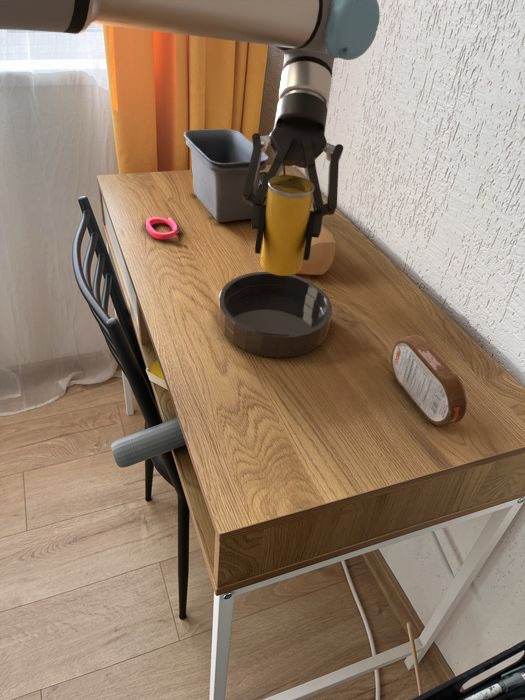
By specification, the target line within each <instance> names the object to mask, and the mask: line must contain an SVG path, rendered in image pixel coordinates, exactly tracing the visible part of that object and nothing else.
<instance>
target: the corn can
mask: <svg viewBox="0 0 525 700" xmlns="http://www.w3.org/2000/svg"><path fill="white" fill-rule="evenodd" d="M314 188H315V187H314V184H313V183H312V182H311V181H309V180H307V178H305V177H302V176H297V175H291V174H279V176H275V177H272V178H271V179H270V180H269V181H268V194H267V199H266V204H265V205H266V213H265V223H264V232H263V239H262V246H261V253H260V266H261V268H262V269H263V270H264V272H269V273H271V274H275V275H280V276H289V275H294V276H295V275H296V273H298V272H299V271H300V270H301V267H302V261H303V254H304V248H305V242H306V235H307V229H308V223H309V217H310V211H312V210H311V209H312V198H313V192H314Z"/></svg>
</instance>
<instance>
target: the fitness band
mask: <svg viewBox="0 0 525 700" xmlns="http://www.w3.org/2000/svg"><path fill="white" fill-rule="evenodd" d="M159 223H161V224H166V225H167V226H169V227H170V228H171V229H172V230H171V231H169V232H163V233H162V232H159V231H156V230H155V229H154V228H153V227H152V225H154V224H159ZM145 227H146V230H147V231H148V233H149V234H150V236H151V237H153V238H155V239H157V240H168V239H171V238H173V237H174V236H176V234H179V229H178V224H176V222H175V221H174V220H173V218H171V217H169V218H168V219H166V218H163V217H150V218H148V219H147V220H146V222H145Z"/></svg>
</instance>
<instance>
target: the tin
mask: <svg viewBox="0 0 525 700" xmlns="http://www.w3.org/2000/svg"><path fill="white" fill-rule="evenodd" d="M390 363H391V369H392V372H393V375H394V377H395V379H396V381H397V383H398V385H400V386H401V388H402V389H403V391H404V392H405V393H406V394H407V396H408V397H409V398H410V399H411V401H412V402H413V403H414V405H415V406H416V407H417V408H418V409H419V411H420V412H421V414H422V415H423V416H424V417H425V418H426V419H427V420H428V422H429V423H431V424H433V425H434V426H439V427H441V426H448V425H450V424H456V423H459V422H461V421H462V420H463V419H464V417H465V416H466V414H467V413H466V412H467V408H468V405H467V404H468V399H467V393H466V391H465V387H464V384H463V383H462V381H461V379H460V377H459V376H458V374H457V373H456V372H455V371H454V370H453V369H452V368H451V366H449V365H448V363H447V362H446V361H445V360H444V359H443V357H441V356H440V355H439V353H438V352H437V351H436V350H435V349H434V348H433V347H432V345H431V344H430V343H429V342H428V341H427V340H426V339H425V338H424V337H422V336H420V335H418V334H412V335H410V336H409V335H408V336H407V337H402V338H399V339H397V340H396V341H394V344H393V347H392V350H391V358H390Z"/></svg>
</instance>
